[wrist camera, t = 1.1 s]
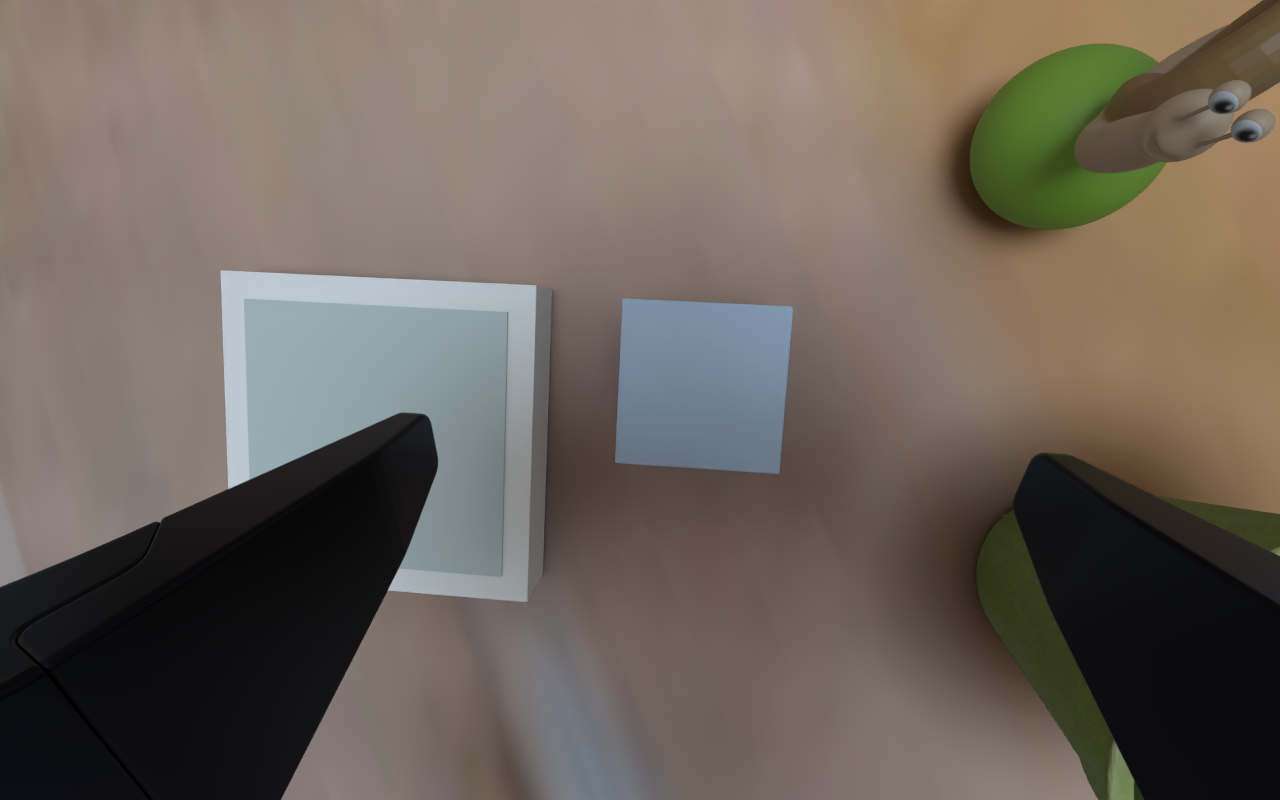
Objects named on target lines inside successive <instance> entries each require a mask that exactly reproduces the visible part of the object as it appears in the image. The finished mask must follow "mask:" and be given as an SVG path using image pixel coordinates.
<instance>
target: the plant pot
mask: <svg viewBox="0 0 1280 800" xmlns="http://www.w3.org/2000/svg"><path fill="white" fill-rule="evenodd" d="M1156 497H1158V496H1156ZM1159 498H1161V499H1163V500H1165V501H1167V502H1169V503H1171V504H1173V505H1175V506H1177V507H1179V508H1181V509H1183V510H1186V511H1188V512H1190V513H1192V514H1194V515H1196V516H1198V517H1200V518H1202V519H1204V520H1206V521H1208V522H1210V523H1213V524H1215V525H1217V526H1219V527H1221V528H1223V529H1225V530H1227V531H1229V532H1231V533H1233V534H1235V535H1237V536H1240V537H1242V538H1244V539H1246V540H1248V541H1250V542H1252V543H1254V544H1256V545H1258V546H1260V547H1262V548H1264V549H1266V550H1269V551H1271V552H1273V553H1275V554H1277V555H1279V556H1280V514H1275V513H1268V512H1261V511H1254V510H1247V509H1240V508H1233V507H1226V506H1219V505H1212V504H1206V503H1199V502H1192V501H1185V500H1178V499H1172V498H1165V497H1159ZM976 583H977V590H978V596H979V599H980V602H981V606H982V608H983V610H984V612H985V614H986V616H987V618H988V619H989V621H990V623H991V624H992V626H993V628H994V629H995V631H996V632H997V634H998V635H999V637H1000V638H1001V640H1002V641H1003V642H1004V644H1005V645H1006V647H1007V648H1008V650H1009V651H1010V653H1011V654H1012V656H1013V657H1014V659H1015V660H1016V662H1017V663H1018V665H1019V666H1020V668H1021V669H1022V671H1023V672H1024V674H1025V675H1026V677H1027V679H1028V680H1029V682H1030V683H1031V685H1032V686H1033V688H1034V689H1035V691H1036V692H1037V694H1038V695H1039V697H1040V698H1041V700H1042V701H1043V703H1044V704H1045V706H1046V707H1047V709H1048V710H1049V712H1050V713H1051V715H1052V716H1053V718H1054V720H1055V721H1056V723H1057V724H1058V726H1059V727H1060V729H1061V730H1062V732H1063V733H1064V735H1065V736H1066V738H1067V739H1068V741H1069V742H1070V744H1071V745H1072V747H1073V748H1074V750H1075V751H1076V753H1077V754H1078V756H1079V758H1080V761H1081V764H1082V767H1083V769H1084V772H1085V774H1086V777H1087V779H1088V781H1089V783H1090V785H1091V787H1092V789H1093V791H1094V793H1095V795H1096V796H1097V798H1098V800H1144V799H1143V797H1142V795H1141V793H1140V791H1139V789H1138V787H1137V785H1136V783H1135V781H1134V779H1133V777H1132V775H1131V773H1130V771H1129V769H1128V767H1127V765H1126V763H1125V761H1124V759H1123V757H1122V755H1121V753H1120V751H1119V749H1118V747H1117V745H1116V743H1115V741H1114V739H1113V737H1112V735H1111V733H1110V731H1109V729H1108V727H1107V725H1106V723H1105V721H1104V719H1103V717H1102V715H1101V713H1100V711H1099V708H1098V706H1097V704H1096V702H1095V700H1094V698H1093V696H1092V694H1091V692H1090V690H1089V688H1088V686H1087V684H1086V682H1085V680H1084V678H1083V676H1082V674H1081V672H1080V670H1079V668H1078V666H1077V664H1076V662H1075V660H1074V658H1073V656H1072V654H1071V652H1070V650H1069V648H1068V646H1067V644H1066V642H1065V640H1064V638H1063V636H1062V634H1061V632H1060V630H1059V628H1058V626H1057V624H1056V621H1055V619H1054V617H1053V615H1052V613H1051V611H1050V608H1049V606H1048V604H1047V601H1046V599H1045V596H1044V594H1043V591H1042V589H1041V586H1040V583H1039V580H1038V578H1037V575H1036V572H1035V569H1034V567H1033V564H1032V561H1031V559H1030V556H1029V553H1028V550H1027V548H1026V545H1025V542H1024V539H1023V537H1022V534H1021V531H1020V528H1019V526H1018V523H1017V520H1016V517H1015V514H1014V510H1012V511H1011V512H1009V513H1008V514H1007V515H1006V516H1005V517H1003V518H1002V519H1000V520H999V521H997V522H996V523H995V525H994V526H993V527H992V529H991V530H990V532H989V533H988V535H987V537H986V539H985V541H984V543H983V545H982V548H981V550H980V554H979V558H978V562H977V569H976Z"/></svg>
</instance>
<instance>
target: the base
mask: <svg viewBox="0 0 1280 800" xmlns="http://www.w3.org/2000/svg"><path fill="white" fill-rule="evenodd" d="M221 292H222V320H223V349H224V377H225V405H226V434H227V462H228V489H230V488H232V487H234V486H236V485H239V484H241V483H243V482H245V481H248V480H250V479H252V478H254V477H257V476H259V475H261V474H263V473H265V472H268V471H270V470H272V469H274V468H277V467H279V466H281V465H283V464H286V463H288V462H290V461H292V460H295V459H297V458H299V457H301V456H304V455H306V454H308V453H310V452H313V451H315V450H317V449H319V448H322V447H324V446H326V445H328V444H330V443H333V442H335V441H337V440H339V439H342V438H344V437H346V436H348V435H351V434H353V433H355V432H357V431H360V430H362V429H364V428H366V427H369V426H371V425H373V424H375V423H378V422H380V421H382V420H384V419H387V418H389V417H391V416H393V415H395V414H398V413H402V412H406V413H421V414H425V415H427V416H428V417H429V419H430V421H431V424H432V429H433V434H434V439H435V444H436V449H437V454H438V469H437V473H436V476H435V478H434V481H433V484H432V487H431V489H430V492H429V495H428V497H427V500H426V503H425V505H424V508H423V511H422V513H421V516H420V519H419V521H418V524H417V527H416V529H415V532H414V535H413V537H412V540H411V543H410V545H409V548H408V550H407V552H406V555H405V557H404V559H403V561H402V563H401V565H400V567H399V569H398V571H397V573H396V575H395V577H394V579H393V581H392V583H391V585H390V587H389V589H388V590H389V591H401V592H413V593H424V594H436V595H448V596H459V597H471V598H483V599H495V600H506V601H518V602H528V600H529V598H530V596H531V595H532V593H533V591H534V590H535V588H536V586H537V584H538V583H539V581H540V579H541V578H542V576H543V557H544V527H545V496H546V466H547V435H548V404H549V374H550V343H551V313H552V290H549V289H546V288H543V287H540V286H537V285H516V284H495V283H474V282H453V281H432V280H410V279H389V278H368V277H347V276H325V275H304V274H283V273H262V272H240V271H221Z"/></svg>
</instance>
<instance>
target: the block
mask: <svg viewBox="0 0 1280 800" xmlns="http://www.w3.org/2000/svg"><path fill="white" fill-rule="evenodd" d="M792 314H793V307H791V306H770V305H749V304H728V303H707V302H687V301H666V300H645V299H624V298H623V303H622V324H621V345H620V367H619V388H618V409H617V430H616V452H615V463H624V464H639V465H654V466H668V467H683V468H698V469H713V470H728V471H742V472H757V473H772V474H779V472H780V460H781V448H782V436H783V424H784V412H785V399H786V387H787V375H788V363H789V351H790V339H791V327H792Z"/></svg>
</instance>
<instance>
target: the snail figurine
mask: <svg viewBox="0 0 1280 800" xmlns="http://www.w3.org/2000/svg"><path fill="white" fill-rule="evenodd" d="M1279 82H1280V0H1263V1H1261V2H1260V3H1258V4H1257V5H1256V6H1254V7H1253V8H1251V9H1250V10H1249V11H1247V12H1246V13H1244V14H1243V15H1242V16H1240V17H1239V18H1238V19H1236V20H1235V21H1234V22H1232V23H1231V24H1230V25H1227V26H1224V27H1222V28H1220V29H1217V30H1215V31H1213V32H1211V33H1209V34H1207V35H1205V36H1203V37H1201V38H1200V39H1198V40H1196V41H1194V42H1192V43H1190V44H1189V45H1187V46H1185V47H1184V48H1182V49H1180V50H1179V51H1177V52H1175V53H1174V54H1172V55H1170V56H1169V57H1167V58H1166V59H1164V60H1163V61H1161V62H1160V63H1158V62H1157V61H1156V60H1154V59H1153V58H1151V57H1150V56H1148V55H1147V54H1145V53H1143V52H1140V51H1138V50H1136V49H1133V48H1129V47H1126V46H1121V45H1114V44H1089V45H1082V46H1076V47H1072V48H1068V49H1065V50H1062V51H1059V52H1056V53H1053V54H1051V55H1049V56H1046V57H1044V58H1042V59H1040V60H1038V61H1037V62H1035V63H1033V64H1031V65H1030V66H1028V67H1027V68H1025V69H1024V70H1022V71H1021V72H1020V73H1018V74H1017V75H1016V76H1014V77H1013V78H1012V79H1011V80H1010V81H1009V82H1008V83H1006V84H1005V85H1004V86H1003V87H1002V88H1001V90H1000V91H999V92H998V93H997V94H996V95H995V96H994V98H993V99H992V100H991V102H990V103H989V104H988V106H987V107H986V109H985V111H984V112H983V114H982V116H981V118H980V120H979V122H978V124H977V126H976V129H975V132H974V135H973V138H972V142H971V148H970V171H971V176H972V180H973V183H974V186H975V188H976V190H977V192H978V194H979V196H980V197H981V199H982V200H983V201H984V203H985V204H986V205H987V206H988V207H989V208H990V209H991V210H992V211H994V212H995V213H996V214H997V215H999V216H1000V217H1002V218H1004V219H1006V220H1008V221H1010V222H1012V223H1014V224H1017V225H1020V226H1024V227H1028V228H1034V229H1046V230H1052V229H1065V228H1071V227H1076V226H1080V225H1084V224H1087V223H1090V222H1093V221H1096V220H1098V219H1101V218H1103V217H1105V216H1107V215H1109V214H1111V213H1113V212H1115V211H1117V210H1118V209H1120V208H1122V207H1123V206H1125V205H1126V204H1128V203H1129V202H1130V201H1132V200H1133V199H1134V198H1136V197H1137V196H1138V195H1139V194H1140V193H1142V192H1143V191H1144V190H1145V189H1146V188H1147V187H1148V186H1149V185H1150V184H1151V183H1152V181H1153V180H1154V179H1155V178H1156V177H1157V176H1158V174H1159V173H1160V172H1161V170H1162V169H1163V167H1164V166H1165V164H1166V163H1167V162H1177V161H1182V160H1186V159H1189V158H1192V157H1194V156H1197V155H1199V154H1201V153H1203V152H1204V151H1206V150H1208V149H1209V148H1211V147H1212V146H1213V145H1215V144H1216V143H1217V142H1219V141H1221V140H1224V139H1228V138H1231V137H1233V138H1234V139H1235V140H1237V141H1239V142H1244V143H1248V142H1254V141H1258V140H1260V139H1262V138H1264V137H1265V136H1266V135H1268V134H1269V133H1270V132H1271V130H1272V129H1273V127H1274V125H1275V117H1274V115H1273V114H1272V113H1271V112H1270V111H1268V110H1264V109H1255V110H1251V111H1248V112H1246V113H1244V114H1242V115H1241V116H1239V117H1238V118H1237V119H1236V120H1235V121H1234V123H1233V124H1232V127H1231V133H1228V134H1226V135H1224V134H1225V133H1226V132H1227V130H1228V129H1229V127H1230V125H1231V123H1232V120H1233V116H1234V112H1235V111H1237V110H1239V109H1240V108H1242V107H1243V106H1244V105H1245V104H1246V103H1247V102H1248V101H1249V100H1251V99H1253V98H1254V97H1256V96H1258V95H1259V94H1261V93H1263V92H1264V91H1266V90H1268V89H1269V88H1271V87H1272V86H1274V85H1276V84H1277V83H1279Z"/></svg>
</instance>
